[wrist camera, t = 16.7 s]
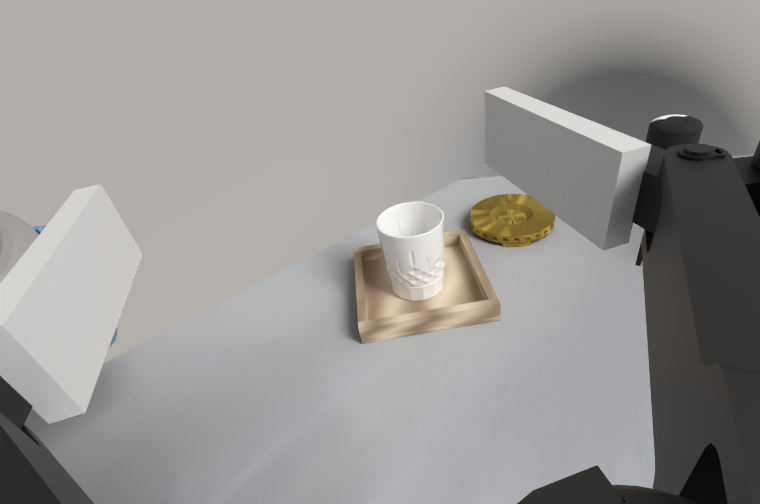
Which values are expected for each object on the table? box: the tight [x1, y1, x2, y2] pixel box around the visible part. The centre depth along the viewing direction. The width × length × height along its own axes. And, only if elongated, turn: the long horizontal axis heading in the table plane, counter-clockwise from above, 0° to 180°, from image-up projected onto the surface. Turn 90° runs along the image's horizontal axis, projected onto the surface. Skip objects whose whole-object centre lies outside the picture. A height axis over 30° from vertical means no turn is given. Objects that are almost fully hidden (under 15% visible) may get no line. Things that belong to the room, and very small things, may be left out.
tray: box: [354, 229, 500, 344], centre depth 53 cm, size 16×16×2 cm
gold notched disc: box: [470, 194, 555, 247], centre depth 62 cm, size 12×12×2 cm
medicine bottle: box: [646, 115, 703, 150], centre depth 59 cm, size 7×7×12 cm
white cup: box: [376, 202, 445, 301], centre depth 51 cm, size 8×8×10 cm
